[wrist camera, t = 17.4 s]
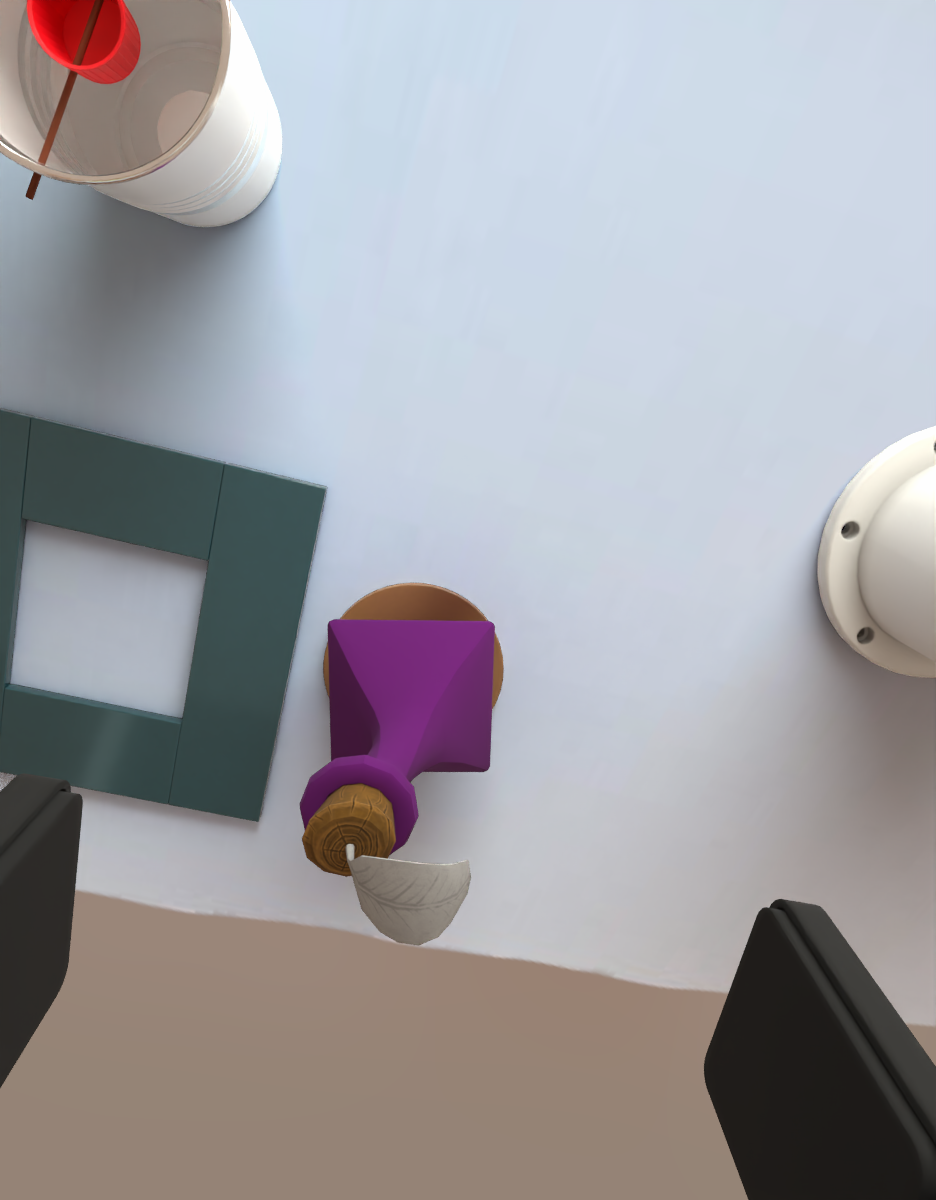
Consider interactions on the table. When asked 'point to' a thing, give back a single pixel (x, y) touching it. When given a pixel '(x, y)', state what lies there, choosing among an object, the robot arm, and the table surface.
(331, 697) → the purple corked potion bottle
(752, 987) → the robot arm
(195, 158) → the striped cup with float
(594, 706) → the table surface
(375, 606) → the coaster
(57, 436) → the green square frame
